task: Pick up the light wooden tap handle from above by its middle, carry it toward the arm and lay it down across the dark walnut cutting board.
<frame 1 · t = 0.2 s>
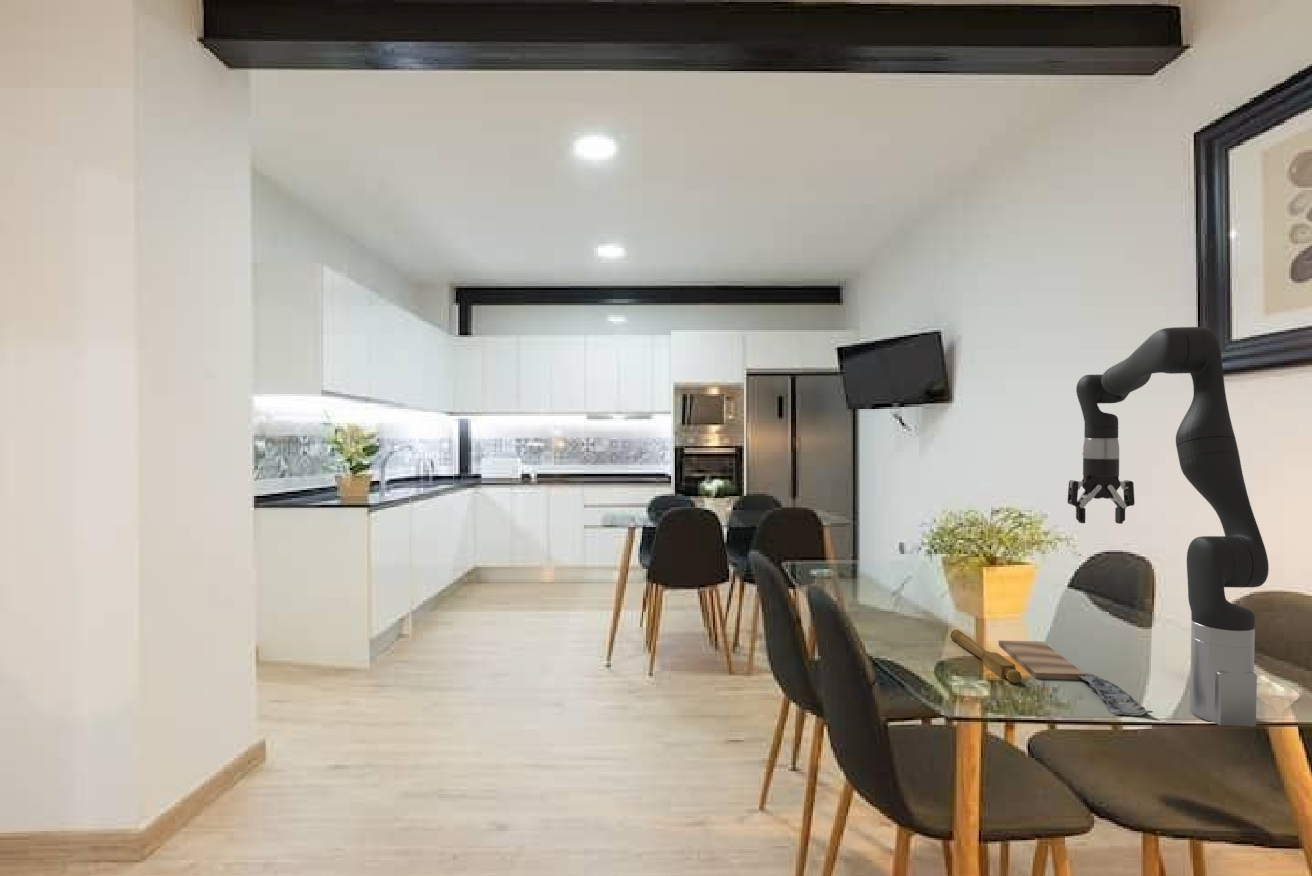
hand: (1100, 523, 178), 29 cm above the table, tool pointing down, fingers open, 8 cm apart
tap handle: (983, 662, 166), on the table
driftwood: (1108, 697, 145), on the table, touching cutting board
cutting board: (1039, 661, 164), on the table
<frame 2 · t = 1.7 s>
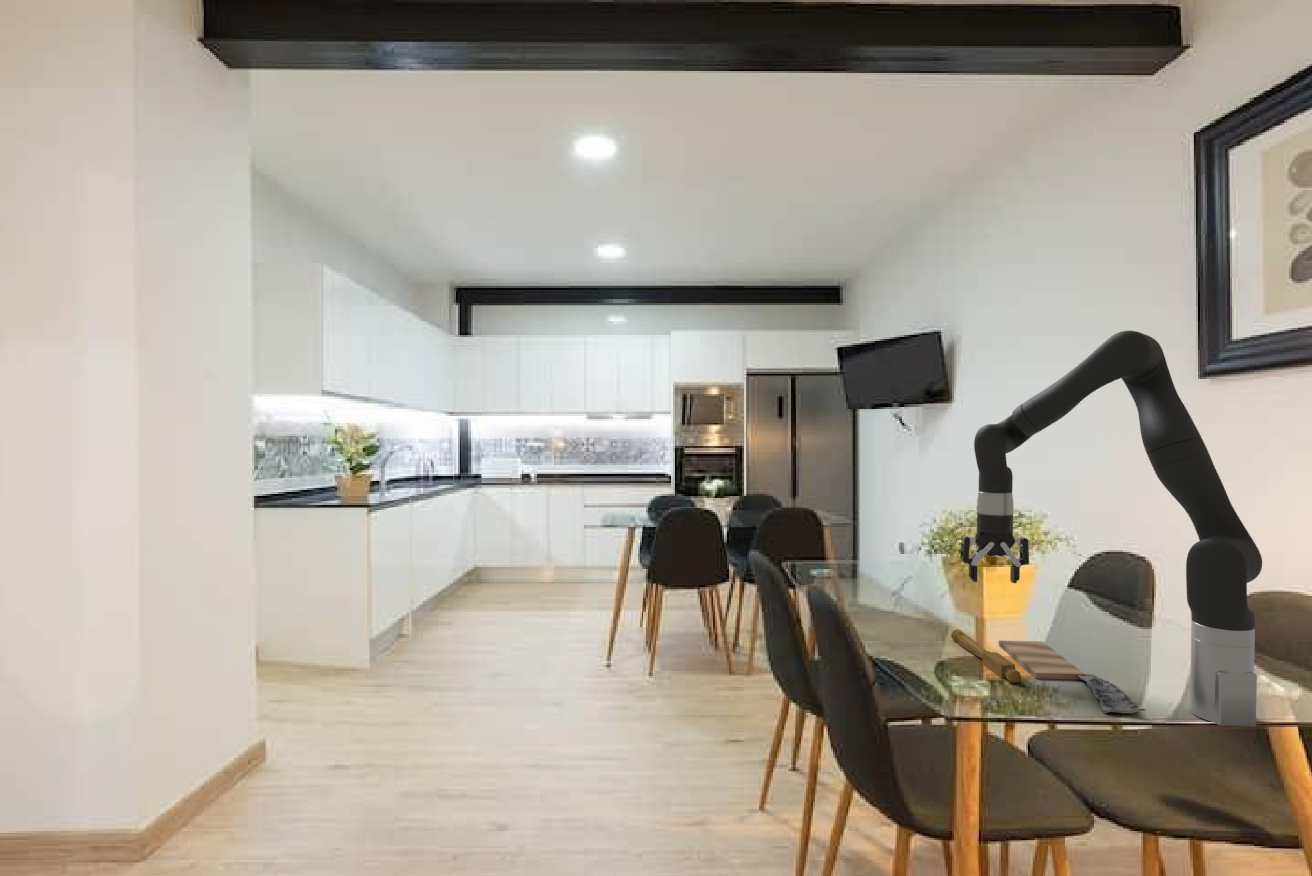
hand: (993, 581, 167), 17 cm above the table, tool pointing down, fingers open, 8 cm apart
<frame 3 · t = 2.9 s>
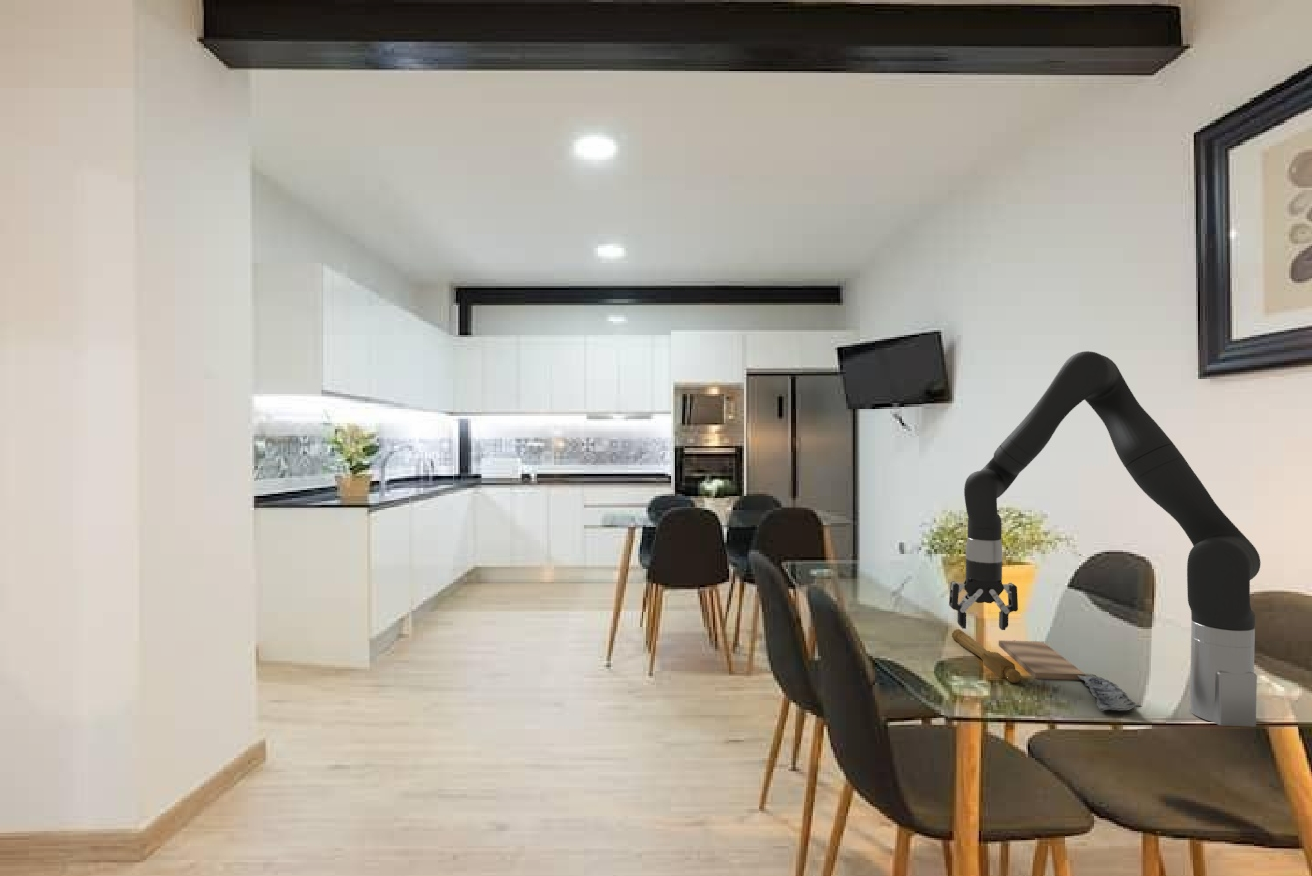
hand: (982, 628, 166), 7 cm above the table, tool pointing down, fingers open, 8 cm apart
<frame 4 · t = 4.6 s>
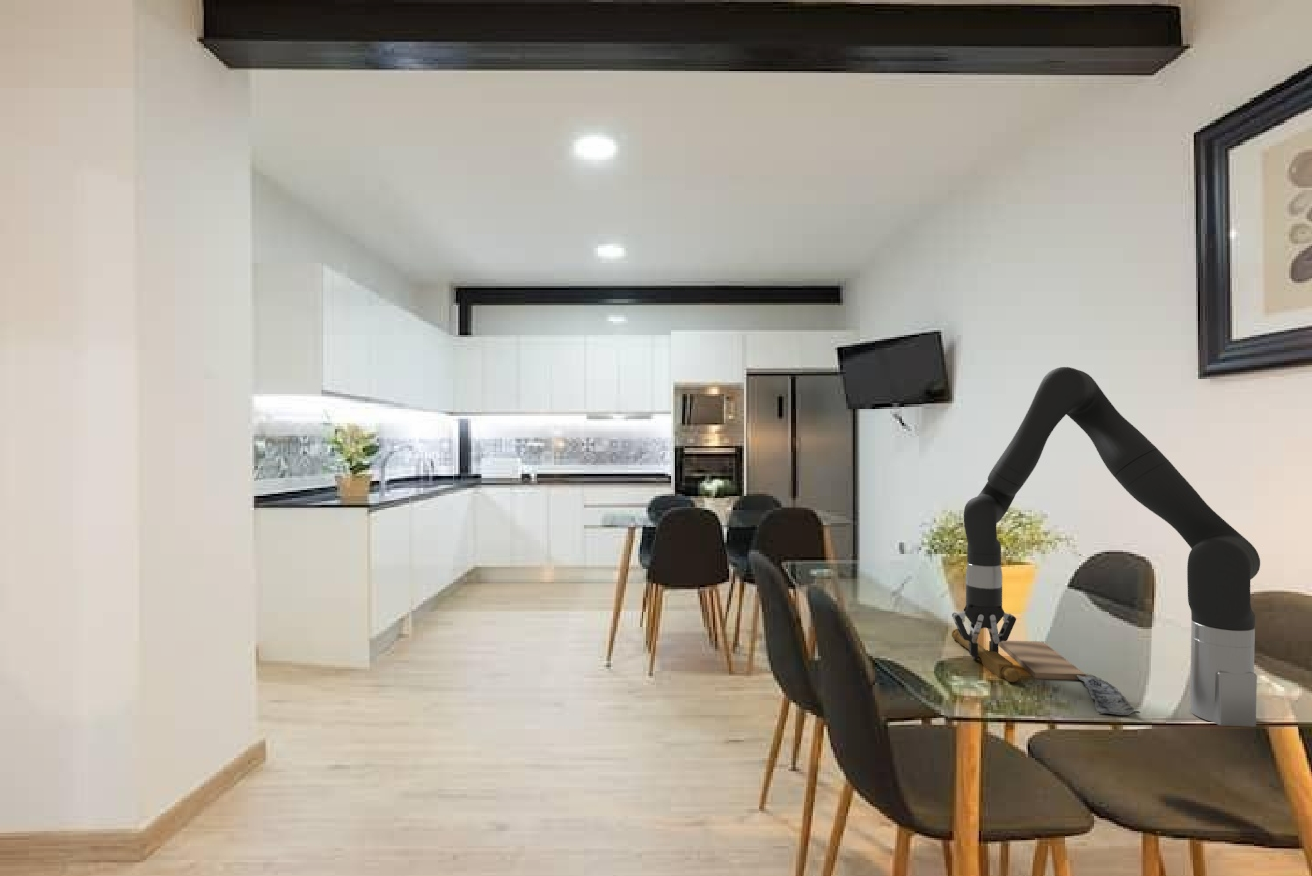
hand: (983, 657, 166), 0 cm above the table, tool pointing down, fingers closed on tap handle, 3 cm apart
tap handle: (983, 661, 166), on the table, touching gripper
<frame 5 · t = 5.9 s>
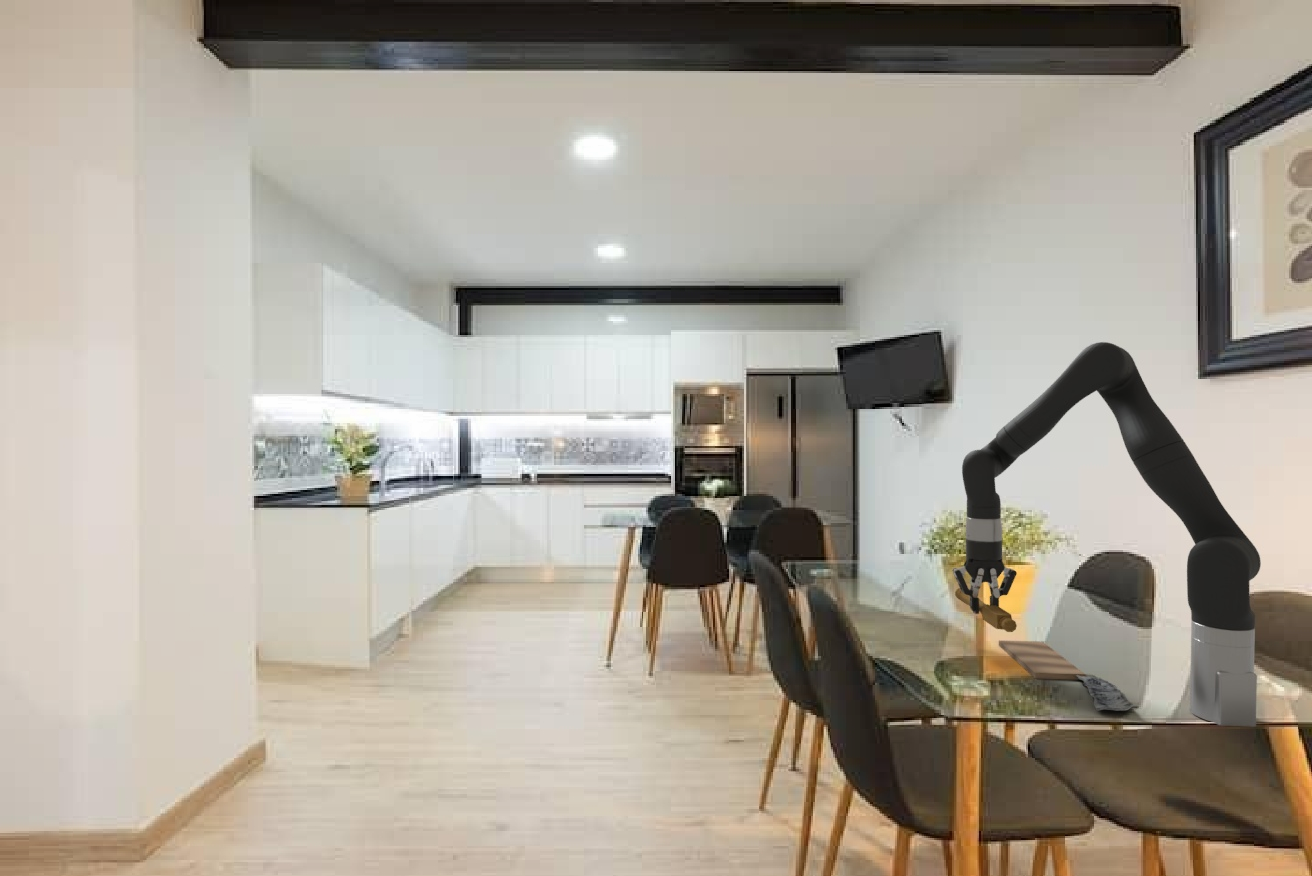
hand: (984, 612, 165), 11 cm above the table, tool pointing down, fingers closed on tap handle, 3 cm apart
tap handle: (983, 616, 166), point 10 cm above the table, touching gripper
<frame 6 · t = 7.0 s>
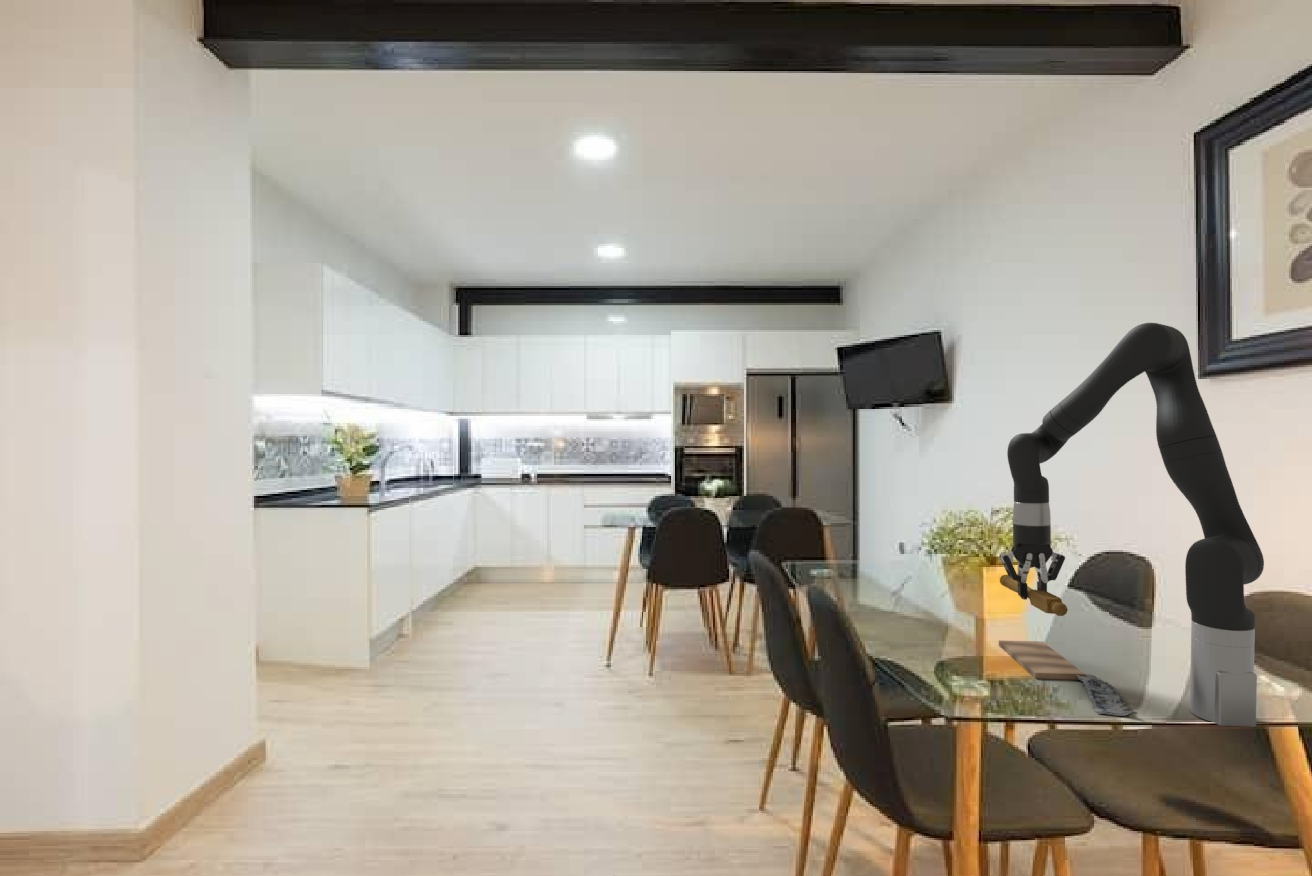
hand: (1032, 598, 163), 14 cm above the table, tool pointing down, fingers closed on tap handle, 3 cm apart
tap handle: (1031, 601, 164), point 14 cm above the table, touching gripper
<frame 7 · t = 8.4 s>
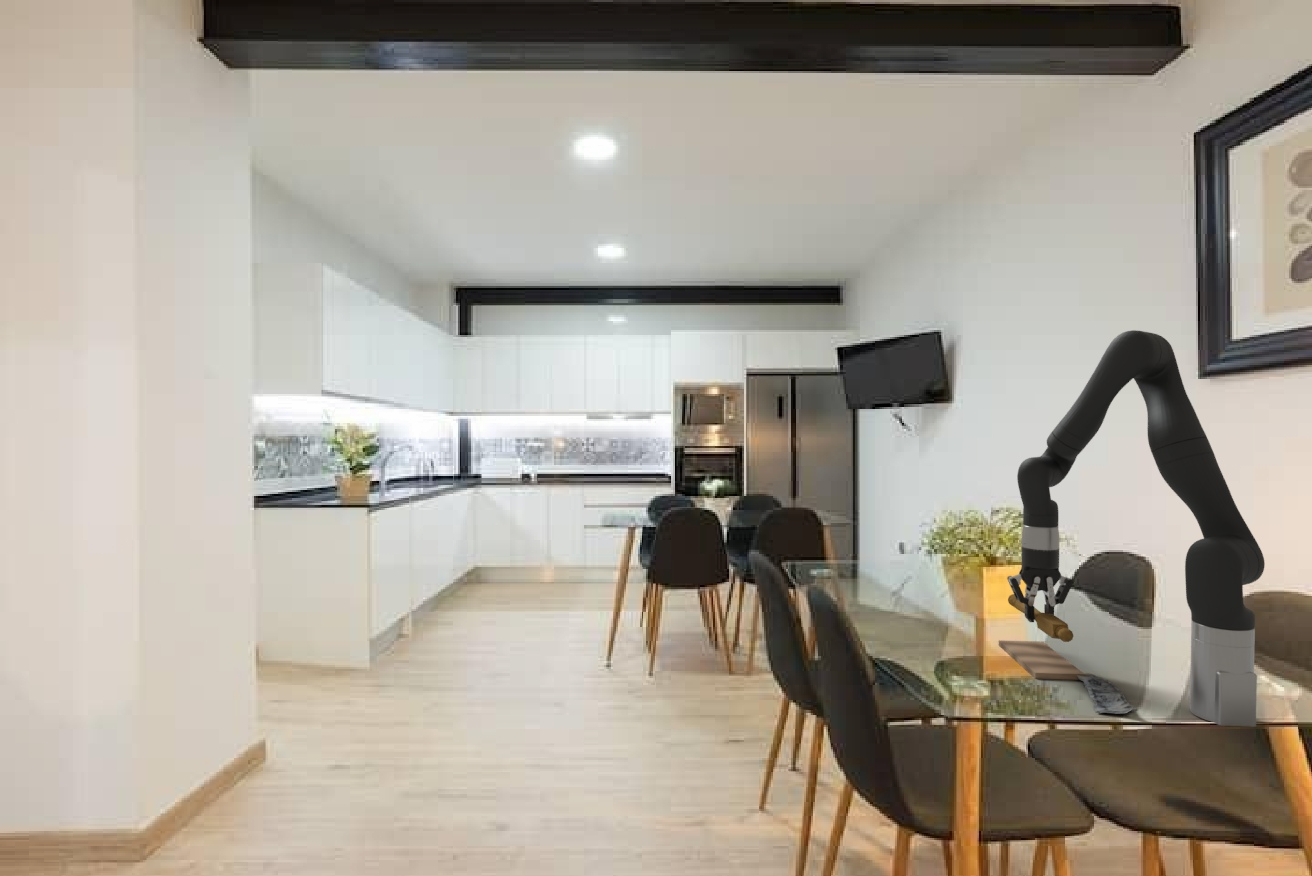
hand: (1039, 621, 164), 9 cm above the table, tool pointing down, fingers closed on tap handle, 3 cm apart
tap handle: (1038, 624, 165), point 8 cm above the table, touching gripper
when the fingers open (3 cm above the table, at t = 10.2 s): tap handle drops 1 cm, resting on cutting board.
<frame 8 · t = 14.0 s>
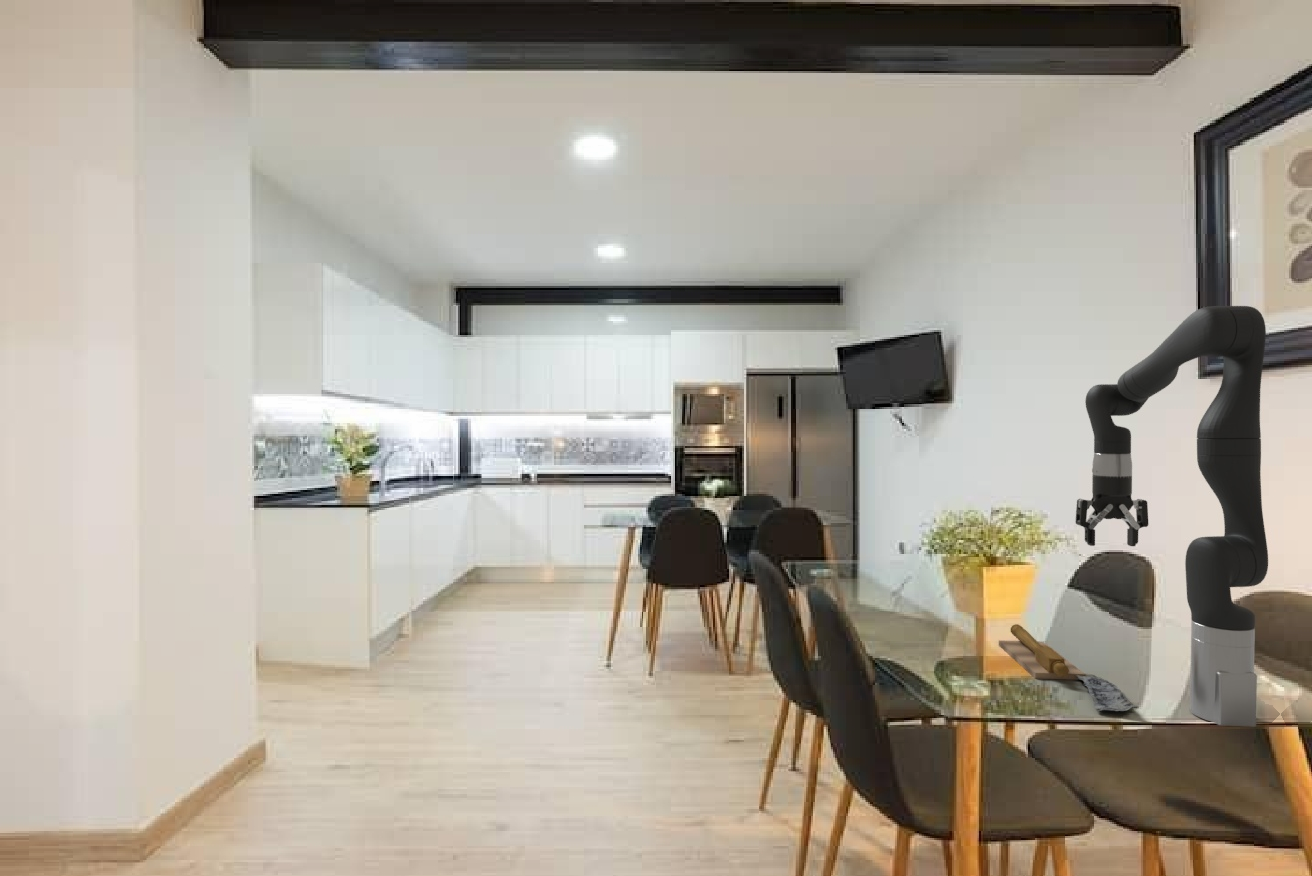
hand: (1111, 545, 164), 26 cm above the table, tool pointing down, fingers open, 8 cm apart
tap handle: (1037, 656, 165), point 1 cm above the table, touching cutting board
at the end: tap handle inside the target area on the cutting board (0.4 cm from its centre), point 1.0 cm above the cutting board's base; tap handle touching cutting board; the gripper is holding nothing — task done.
